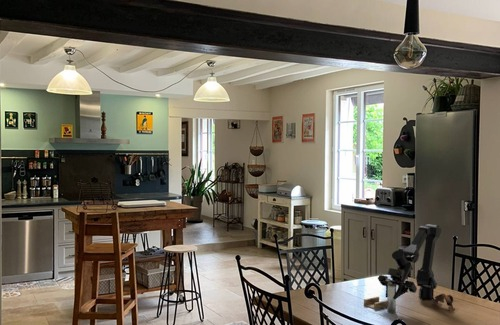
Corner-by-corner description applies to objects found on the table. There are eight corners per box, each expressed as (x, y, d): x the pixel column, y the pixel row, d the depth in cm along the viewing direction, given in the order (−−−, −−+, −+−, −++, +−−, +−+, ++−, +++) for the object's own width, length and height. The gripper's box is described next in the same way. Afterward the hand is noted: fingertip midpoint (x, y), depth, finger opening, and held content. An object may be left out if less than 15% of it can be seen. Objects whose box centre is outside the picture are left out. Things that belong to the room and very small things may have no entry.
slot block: (377, 302, 257) (377, 296, 257) (389, 306, 250) (389, 300, 250) (363, 305, 251) (363, 299, 251) (375, 309, 244) (376, 303, 244)
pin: (394, 310, 244) (395, 282, 243) (397, 313, 239) (397, 284, 239) (385, 310, 244) (386, 281, 243) (388, 313, 239) (388, 284, 239)
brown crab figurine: (448, 314, 241) (439, 298, 243) (434, 317, 249) (425, 302, 251) (462, 303, 248) (453, 288, 250) (447, 307, 256) (439, 292, 258)
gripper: (380, 258, 250) (367, 284, 243) (414, 265, 237) (401, 292, 230) (388, 271, 256) (375, 297, 249) (422, 279, 242) (410, 306, 235)
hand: (390, 297), depth 240 cm, fingers closed on pin, 4 cm apart
